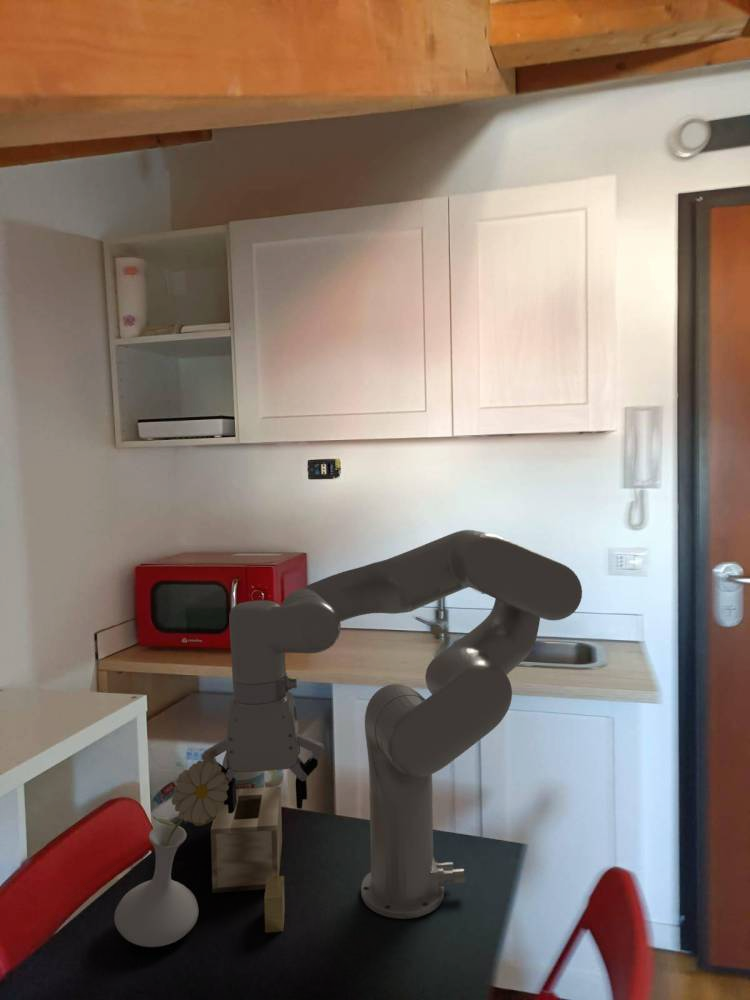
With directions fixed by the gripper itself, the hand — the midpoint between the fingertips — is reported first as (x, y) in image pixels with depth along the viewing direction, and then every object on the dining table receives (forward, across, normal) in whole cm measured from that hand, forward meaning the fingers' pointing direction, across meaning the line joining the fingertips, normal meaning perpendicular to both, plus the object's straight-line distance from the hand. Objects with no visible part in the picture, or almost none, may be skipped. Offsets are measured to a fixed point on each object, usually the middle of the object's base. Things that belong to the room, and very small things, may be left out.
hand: (266, 806), depth 98 cm
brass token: (+17, 0, 0) cm, 17 cm away
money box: (+17, +5, -13) cm, 22 cm away
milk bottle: (+17, +8, -25) cm, 31 cm away
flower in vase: (+16, +16, +1) cm, 22 cm away
